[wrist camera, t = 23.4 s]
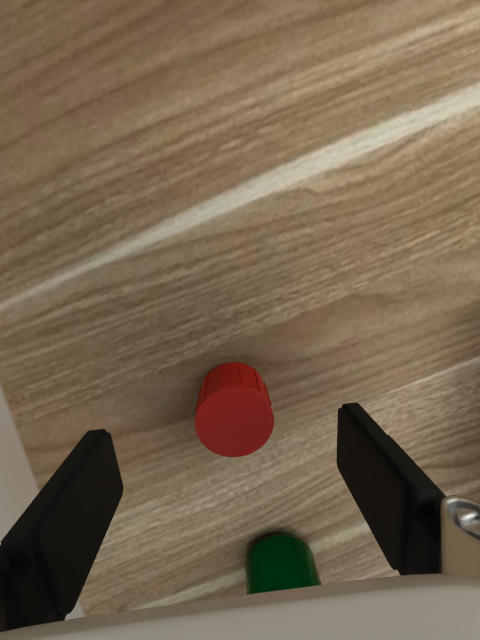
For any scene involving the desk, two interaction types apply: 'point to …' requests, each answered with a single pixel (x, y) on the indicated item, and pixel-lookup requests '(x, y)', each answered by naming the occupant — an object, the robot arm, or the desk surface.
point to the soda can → (280, 564)
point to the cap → (233, 411)
